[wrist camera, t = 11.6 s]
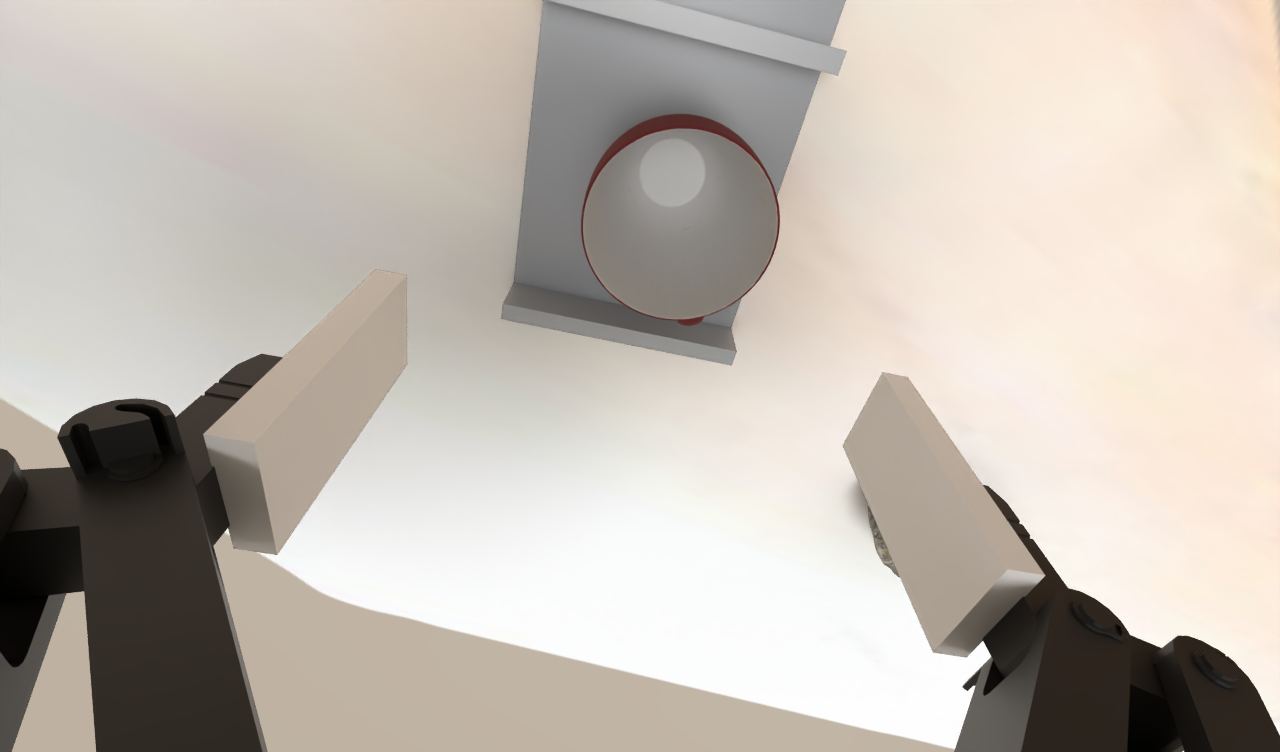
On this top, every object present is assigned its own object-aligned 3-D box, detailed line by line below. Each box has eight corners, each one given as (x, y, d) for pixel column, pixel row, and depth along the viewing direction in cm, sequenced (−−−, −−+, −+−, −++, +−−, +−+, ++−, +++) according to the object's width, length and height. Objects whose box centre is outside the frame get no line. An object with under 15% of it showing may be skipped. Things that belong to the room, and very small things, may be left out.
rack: (516, 289, 36) (501, 318, 33) (612, -605, 19) (602, -749, 15) (724, 332, 38) (731, 365, 34) (998, -462, 20) (1071, -562, 17)
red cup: (765, 260, 34) (802, 343, 25) (636, 294, 35) (631, 384, 27) (729, 68, 28) (762, 94, 20) (578, 118, 30) (549, 162, 21)
